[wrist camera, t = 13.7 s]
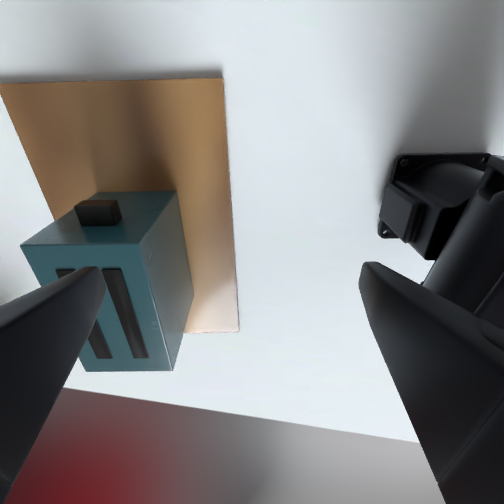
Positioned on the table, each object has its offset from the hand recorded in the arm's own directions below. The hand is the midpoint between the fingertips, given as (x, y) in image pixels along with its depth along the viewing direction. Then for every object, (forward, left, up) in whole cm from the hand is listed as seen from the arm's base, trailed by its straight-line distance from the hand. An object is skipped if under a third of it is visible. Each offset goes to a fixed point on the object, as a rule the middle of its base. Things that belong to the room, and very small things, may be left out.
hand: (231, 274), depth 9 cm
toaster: (+8, +6, -12) cm, 16 cm away
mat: (+8, +5, -12) cm, 16 cm away
